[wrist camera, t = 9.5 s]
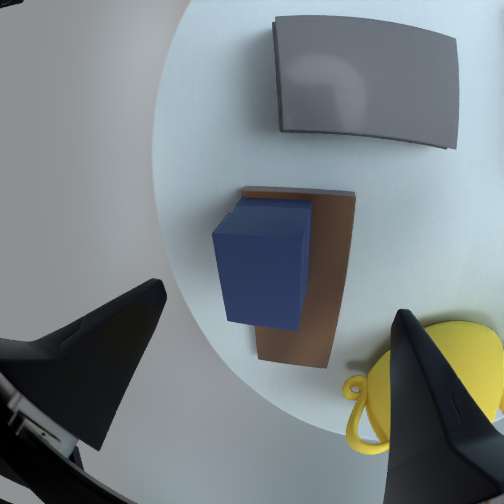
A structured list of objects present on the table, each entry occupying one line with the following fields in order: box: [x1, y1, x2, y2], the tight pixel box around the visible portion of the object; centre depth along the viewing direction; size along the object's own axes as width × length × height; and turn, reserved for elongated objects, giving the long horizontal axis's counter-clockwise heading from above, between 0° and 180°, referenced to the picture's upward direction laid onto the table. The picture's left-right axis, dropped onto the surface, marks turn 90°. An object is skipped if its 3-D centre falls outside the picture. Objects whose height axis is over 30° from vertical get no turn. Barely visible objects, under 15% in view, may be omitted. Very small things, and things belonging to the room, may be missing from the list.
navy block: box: [212, 213, 308, 331], centre depth 17 cm, size 7×5×3 cm
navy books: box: [232, 197, 312, 302], centre depth 20 cm, size 7×5×3 cm
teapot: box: [342, 321, 504, 455], centre depth 19 cm, size 25×18×14 cm
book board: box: [242, 186, 356, 368], centre depth 24 cm, size 8×20×1 cm, turn 4°
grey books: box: [272, 15, 459, 149], centre depth 12 cm, size 11×8×3 cm
